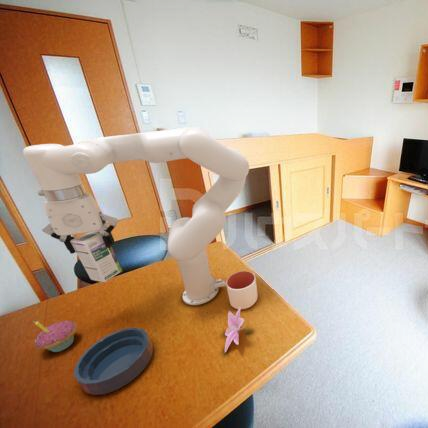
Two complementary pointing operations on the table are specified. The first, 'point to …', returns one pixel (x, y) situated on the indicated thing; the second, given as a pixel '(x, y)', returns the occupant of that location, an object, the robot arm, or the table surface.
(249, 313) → the table surface
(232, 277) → the cup
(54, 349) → the cupcake
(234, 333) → the lily
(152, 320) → the table surface
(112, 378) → the bowl
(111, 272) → the syrup box
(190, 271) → the robot arm
